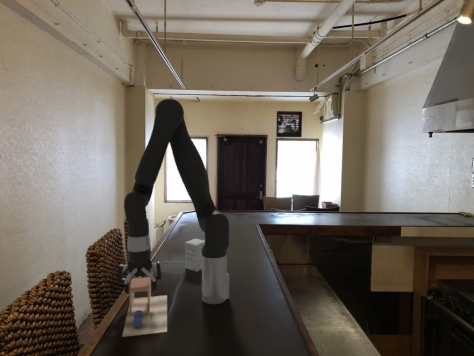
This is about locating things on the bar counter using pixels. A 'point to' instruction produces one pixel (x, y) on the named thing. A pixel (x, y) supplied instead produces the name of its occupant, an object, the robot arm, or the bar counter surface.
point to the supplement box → (194, 254)
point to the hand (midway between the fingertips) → (140, 292)
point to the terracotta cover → (139, 290)
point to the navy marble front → (137, 322)
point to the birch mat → (147, 316)
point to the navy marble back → (138, 314)
